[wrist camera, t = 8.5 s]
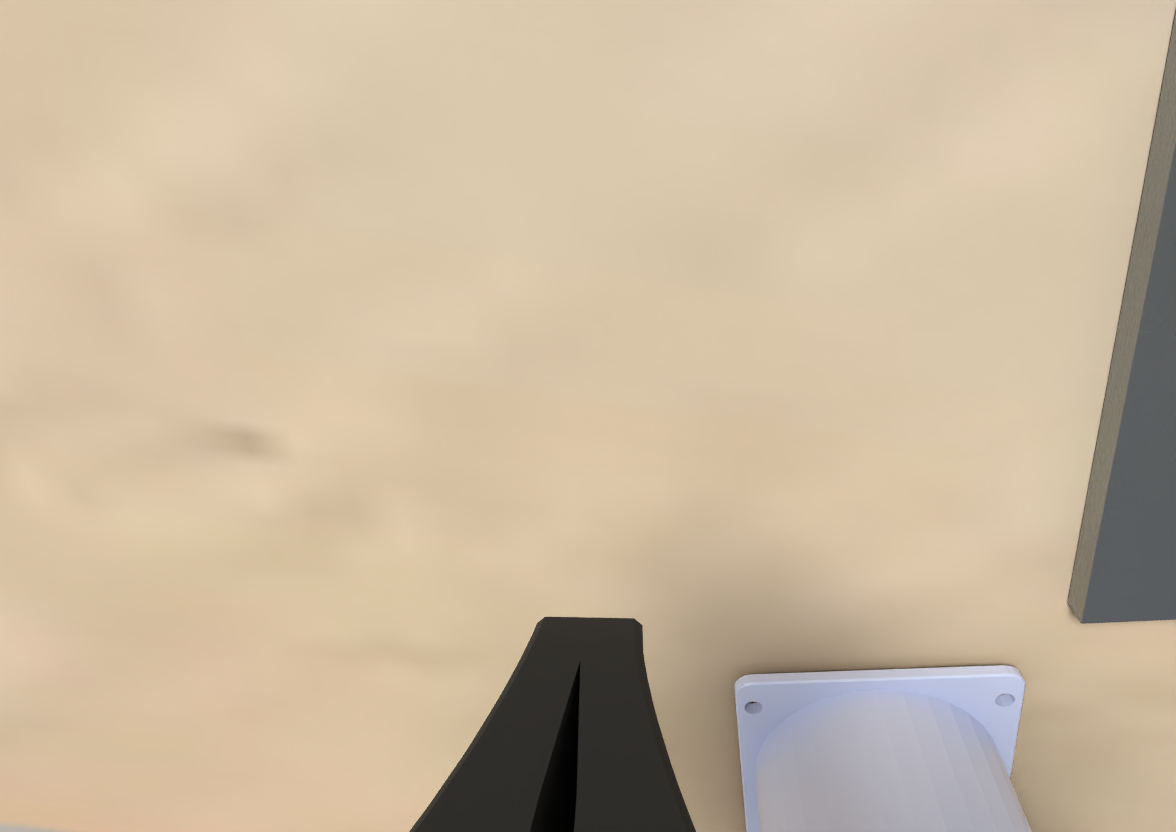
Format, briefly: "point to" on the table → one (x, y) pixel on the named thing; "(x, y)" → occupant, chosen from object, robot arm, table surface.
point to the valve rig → (1138, 416)
